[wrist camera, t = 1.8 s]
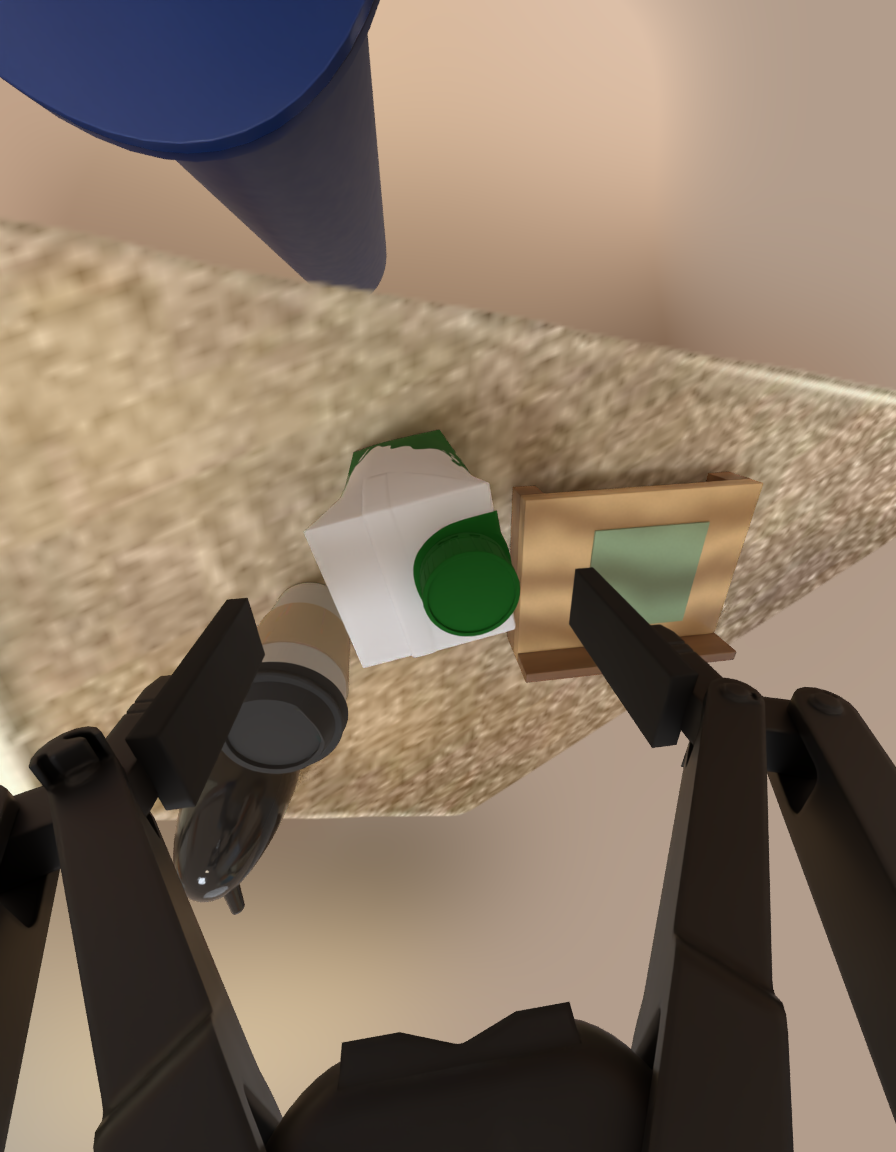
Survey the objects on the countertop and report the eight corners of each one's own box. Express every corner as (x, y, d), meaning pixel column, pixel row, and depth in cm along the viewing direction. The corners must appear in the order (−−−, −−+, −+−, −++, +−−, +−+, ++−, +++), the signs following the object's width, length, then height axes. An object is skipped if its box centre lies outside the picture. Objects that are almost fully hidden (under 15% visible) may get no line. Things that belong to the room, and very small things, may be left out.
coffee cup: (293, 663, 41) (244, 806, 28) (243, 592, 37) (157, 720, 23) (376, 634, 40) (367, 765, 27) (335, 558, 36) (300, 669, 23)
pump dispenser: (238, 781, 48) (177, 942, 34) (190, 721, 43) (98, 883, 30) (321, 758, 48) (291, 912, 34) (282, 696, 43) (231, 848, 29)
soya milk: (470, 516, 36) (542, 663, 18) (371, 542, 36) (348, 714, 18) (447, 413, 32) (513, 475, 14) (336, 443, 32) (261, 541, 14)
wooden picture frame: (512, 486, 35) (537, 512, 29) (728, 471, 37) (795, 493, 30) (507, 636, 42) (525, 683, 36) (686, 618, 44) (734, 659, 38)
